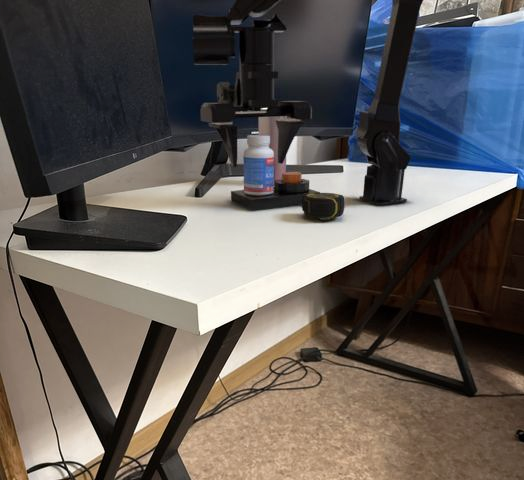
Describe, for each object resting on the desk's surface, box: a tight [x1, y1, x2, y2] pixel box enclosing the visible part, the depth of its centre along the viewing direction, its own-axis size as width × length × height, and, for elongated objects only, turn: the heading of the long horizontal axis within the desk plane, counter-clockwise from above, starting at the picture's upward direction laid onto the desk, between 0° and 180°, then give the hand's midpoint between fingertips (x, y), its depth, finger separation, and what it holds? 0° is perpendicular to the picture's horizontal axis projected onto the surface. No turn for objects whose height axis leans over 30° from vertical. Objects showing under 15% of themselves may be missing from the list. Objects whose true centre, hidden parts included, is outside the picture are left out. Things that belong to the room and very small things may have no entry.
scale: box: [230, 178, 321, 212], centre depth 94 cm, size 14×9×4 cm, turn 117°
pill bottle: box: [242, 134, 274, 196], centre depth 91 cm, size 6×5×10 cm
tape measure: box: [300, 192, 346, 221], centre depth 83 cm, size 7×7×4 cm
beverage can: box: [257, 107, 287, 181], centre depth 110 cm, size 6×6×15 cm
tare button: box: [282, 171, 303, 183], centre depth 95 cm, size 4×4×2 cm
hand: (257, 165), depth 91 cm, fingers open, 9 cm apart
